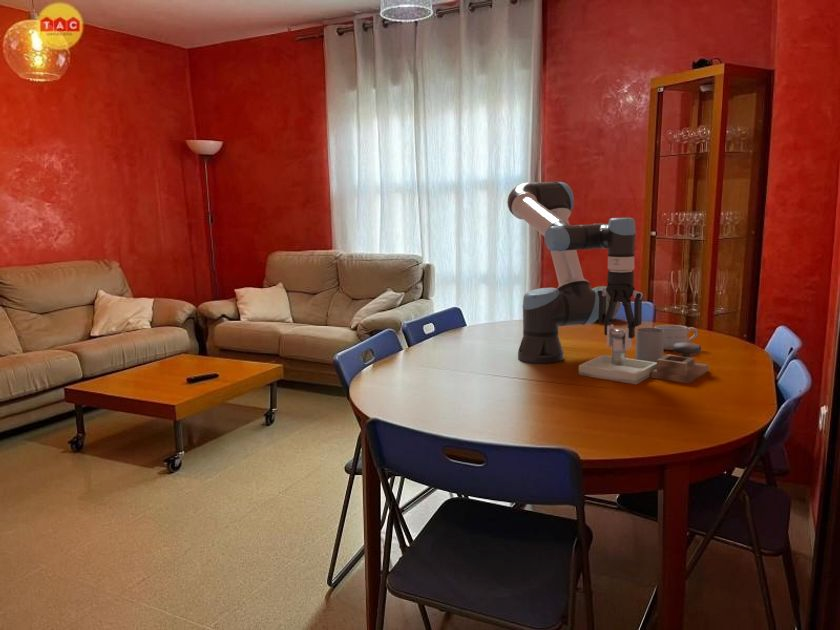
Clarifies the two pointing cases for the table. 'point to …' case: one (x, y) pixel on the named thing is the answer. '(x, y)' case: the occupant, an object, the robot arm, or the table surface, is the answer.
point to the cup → (649, 344)
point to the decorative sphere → (608, 300)
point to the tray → (618, 369)
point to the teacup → (676, 335)
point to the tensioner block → (680, 364)
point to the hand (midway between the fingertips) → (618, 347)
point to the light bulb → (618, 346)
